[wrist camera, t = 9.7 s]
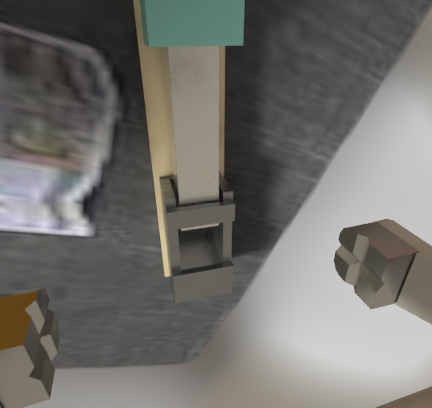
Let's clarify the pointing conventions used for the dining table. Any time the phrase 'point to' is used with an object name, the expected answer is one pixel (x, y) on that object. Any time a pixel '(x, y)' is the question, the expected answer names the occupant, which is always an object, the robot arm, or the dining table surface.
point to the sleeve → (199, 243)
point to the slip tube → (193, 123)
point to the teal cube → (192, 22)
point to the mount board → (166, 117)
